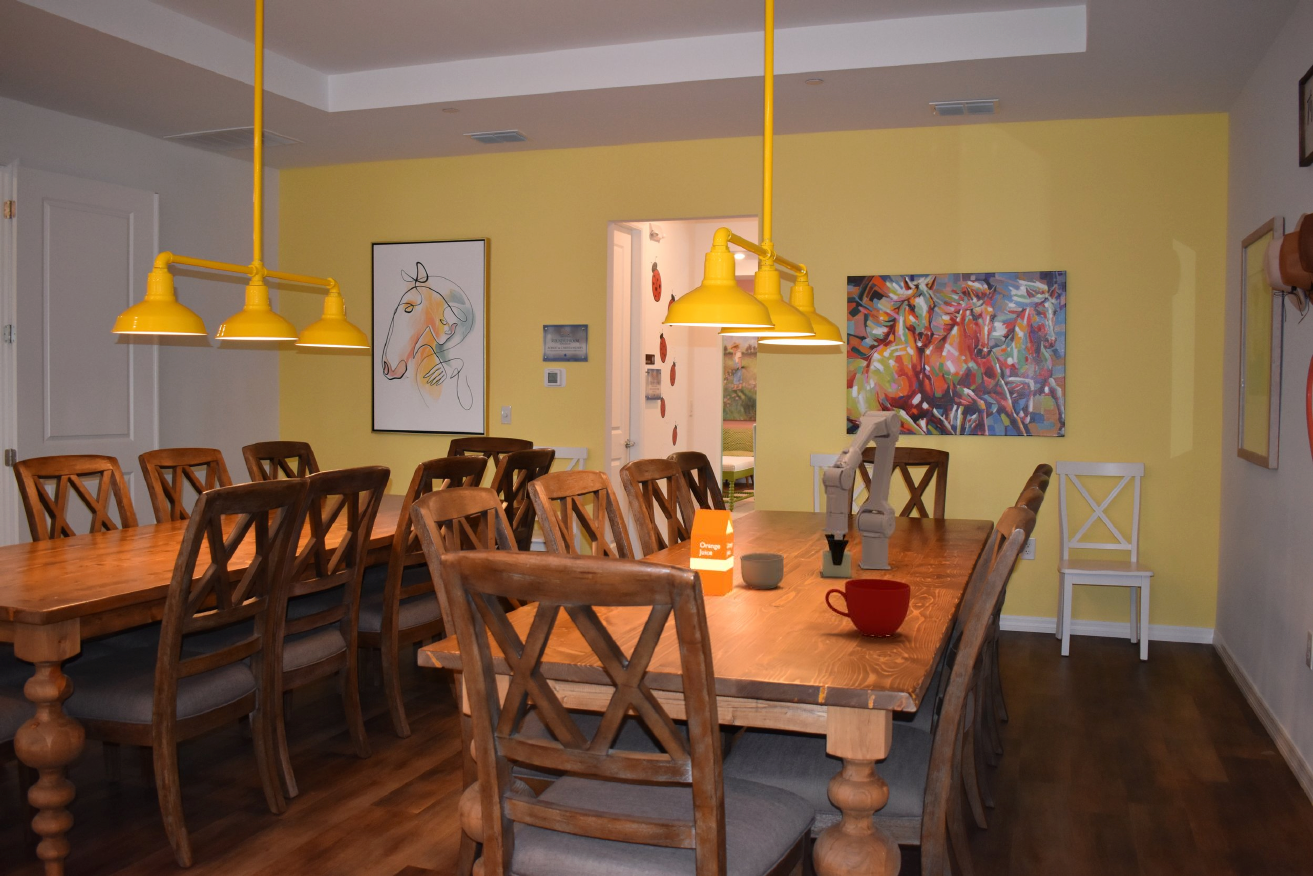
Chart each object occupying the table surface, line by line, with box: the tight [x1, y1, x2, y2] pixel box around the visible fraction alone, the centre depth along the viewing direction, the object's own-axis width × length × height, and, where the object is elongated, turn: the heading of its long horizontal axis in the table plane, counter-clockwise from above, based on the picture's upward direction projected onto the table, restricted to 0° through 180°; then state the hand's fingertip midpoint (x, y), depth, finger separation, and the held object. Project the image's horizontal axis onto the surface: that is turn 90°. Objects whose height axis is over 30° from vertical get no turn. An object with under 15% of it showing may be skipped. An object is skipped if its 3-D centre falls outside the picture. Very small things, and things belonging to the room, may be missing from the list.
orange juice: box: [689, 508, 735, 597], centre depth 250 cm, size 8×9×20 cm
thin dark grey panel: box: [819, 571, 853, 579], centre depth 276 cm, size 8×8×1 cm
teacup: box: [739, 552, 785, 590], centre depth 259 cm, size 14×11×8 cm
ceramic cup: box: [824, 578, 912, 636], centre depth 208 cm, size 13×17×10 cm
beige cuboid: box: [821, 549, 852, 577], centre depth 276 cm, size 7×6×6 cm
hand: (836, 563), depth 276 cm, fingers open, 7 cm apart
